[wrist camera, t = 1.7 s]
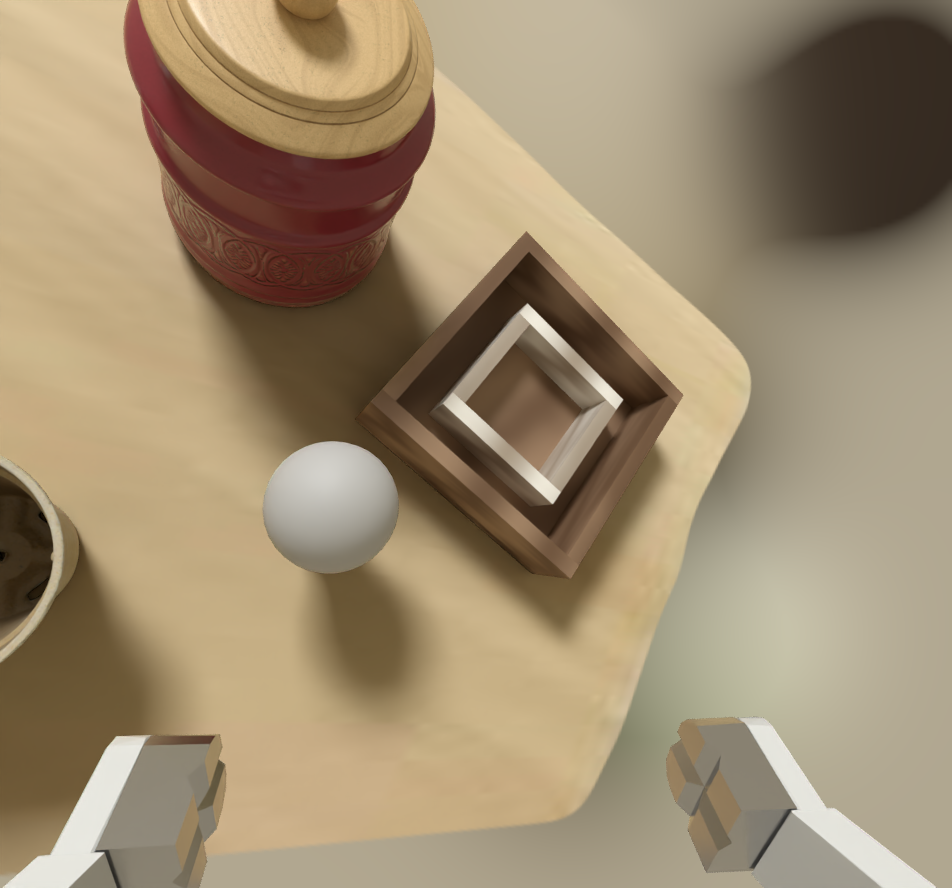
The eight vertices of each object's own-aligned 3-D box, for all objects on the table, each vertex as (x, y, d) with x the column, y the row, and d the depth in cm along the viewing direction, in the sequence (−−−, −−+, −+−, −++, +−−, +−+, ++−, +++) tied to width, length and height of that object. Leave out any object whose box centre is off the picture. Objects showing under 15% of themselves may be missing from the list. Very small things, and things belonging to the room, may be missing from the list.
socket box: (354, 419, 34) (370, 401, 29) (495, 266, 40) (526, 231, 35) (531, 573, 37) (570, 578, 32) (637, 410, 43) (683, 395, 38)
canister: (351, 343, 35) (435, 178, 19) (132, 260, 30) (-5, -45, 14) (403, 181, 38) (514, -78, 22) (212, 86, 34) (174, -320, 18)
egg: (238, 501, 31) (230, 486, 21) (328, 443, 33) (359, 403, 23) (301, 586, 31) (324, 610, 21) (384, 522, 34) (440, 517, 24)
